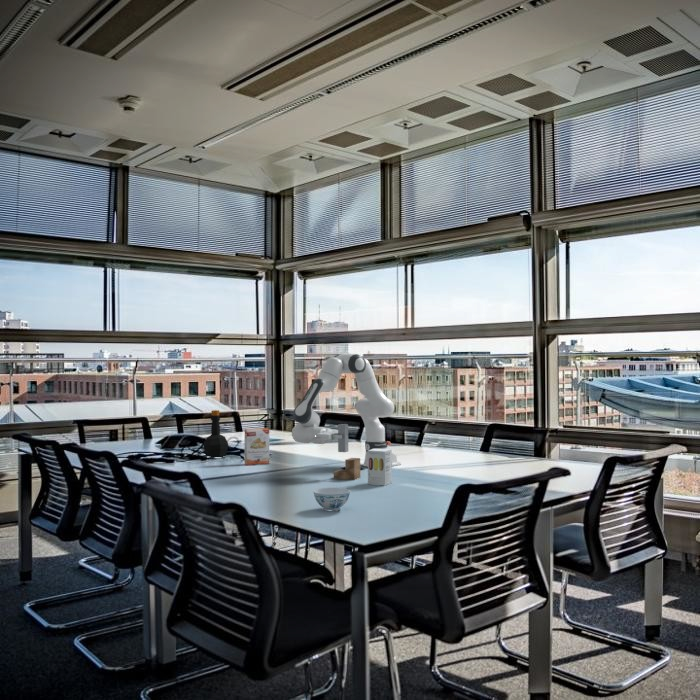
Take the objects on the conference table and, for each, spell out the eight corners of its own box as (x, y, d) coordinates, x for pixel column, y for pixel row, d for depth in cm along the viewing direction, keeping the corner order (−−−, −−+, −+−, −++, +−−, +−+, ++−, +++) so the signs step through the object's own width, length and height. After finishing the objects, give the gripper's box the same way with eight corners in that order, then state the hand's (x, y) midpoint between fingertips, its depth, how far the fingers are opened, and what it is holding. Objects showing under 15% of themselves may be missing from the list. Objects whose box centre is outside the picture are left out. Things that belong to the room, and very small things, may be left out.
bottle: (208, 460, 442) (207, 411, 442) (199, 457, 456) (199, 410, 456) (232, 458, 450) (232, 410, 450) (223, 455, 464) (222, 409, 464)
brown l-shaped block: (333, 478, 367) (333, 459, 367) (339, 476, 374) (339, 457, 374) (354, 479, 362) (354, 460, 363) (360, 477, 370) (360, 458, 370)
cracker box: (246, 465, 416) (246, 429, 416) (244, 464, 422) (244, 429, 422) (270, 464, 421) (269, 428, 422) (267, 462, 427) (266, 427, 427)
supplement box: (367, 484, 348) (366, 450, 348) (374, 481, 356) (374, 448, 357) (385, 486, 344) (385, 451, 344) (392, 482, 352) (391, 448, 353)
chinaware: (351, 505, 298) (351, 487, 298) (349, 513, 283) (348, 494, 283) (315, 505, 299) (315, 487, 299) (311, 513, 284) (311, 494, 284)
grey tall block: (338, 451, 368) (337, 424, 368) (341, 451, 372) (341, 424, 372) (345, 452, 367) (345, 425, 367) (348, 451, 370) (348, 424, 371)
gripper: (311, 431, 365) (336, 432, 360) (328, 427, 384) (352, 428, 378) (311, 443, 365) (336, 444, 360) (328, 439, 384) (352, 440, 378)
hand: (344, 436), depth 369 cm, fingers closed on grey tall block, 4 cm apart
